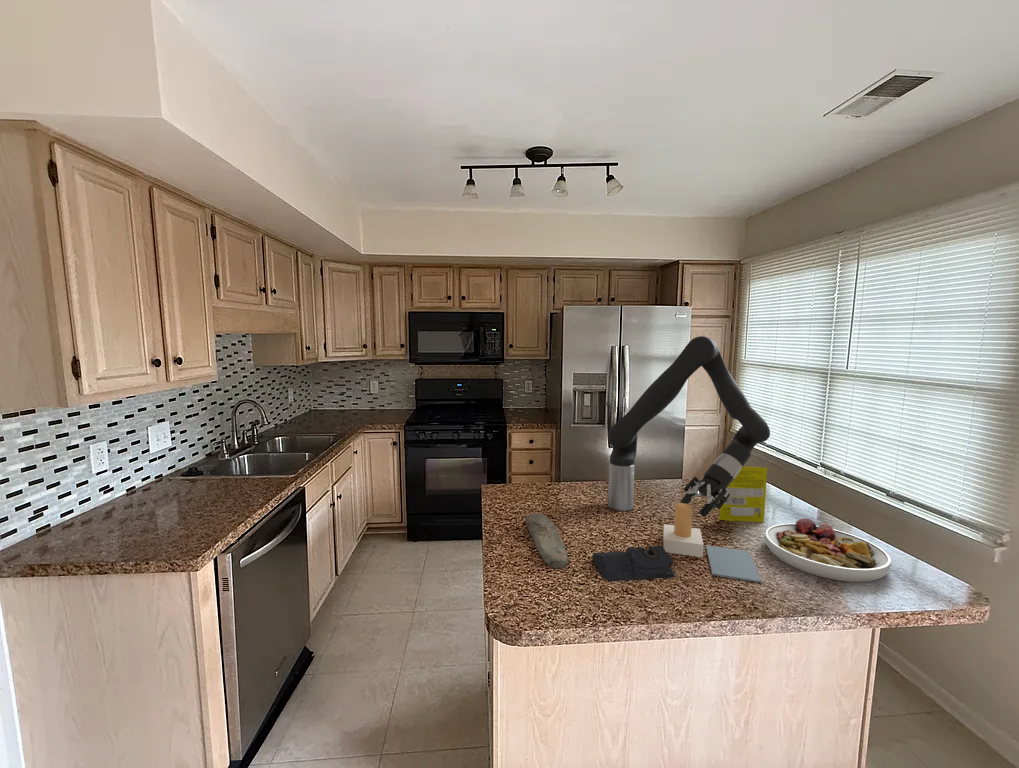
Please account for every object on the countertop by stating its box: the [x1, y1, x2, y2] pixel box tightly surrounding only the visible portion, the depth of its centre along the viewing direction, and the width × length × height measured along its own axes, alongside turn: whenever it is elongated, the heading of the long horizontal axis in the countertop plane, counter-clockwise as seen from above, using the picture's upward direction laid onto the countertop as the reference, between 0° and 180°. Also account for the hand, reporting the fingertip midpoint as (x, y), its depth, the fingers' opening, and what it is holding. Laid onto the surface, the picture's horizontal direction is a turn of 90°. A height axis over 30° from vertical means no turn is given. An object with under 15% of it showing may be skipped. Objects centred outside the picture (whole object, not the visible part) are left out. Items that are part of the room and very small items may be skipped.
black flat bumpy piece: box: [592, 544, 676, 582], centre depth 125 cm, size 15×22×5 cm
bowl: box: [764, 518, 892, 583], centre depth 130 cm, size 30×30×8 cm
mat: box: [705, 544, 763, 584], centre depth 127 cm, size 12×18×1 cm, turn 161°
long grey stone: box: [525, 512, 569, 569], centre depth 141 cm, size 35×5×10 cm
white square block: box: [662, 523, 704, 558], centre depth 138 cm, size 11×12×4 cm
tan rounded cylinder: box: [673, 502, 693, 537], centre depth 137 cm, size 5×5×9 cm
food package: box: [718, 466, 768, 523], centre depth 157 cm, size 15×1×20 cm, turn 84°
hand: (691, 509), depth 138 cm, fingers open, 8 cm apart
